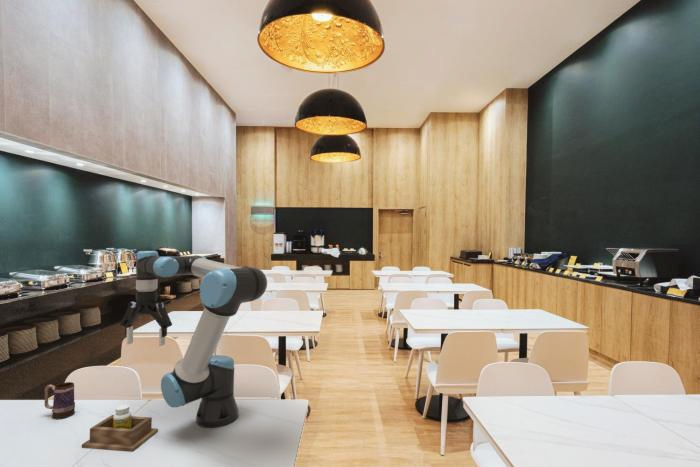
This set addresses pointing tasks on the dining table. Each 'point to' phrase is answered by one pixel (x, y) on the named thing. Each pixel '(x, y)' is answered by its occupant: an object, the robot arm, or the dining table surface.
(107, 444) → the walnut caddy
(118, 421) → the supplement bottle
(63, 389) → the mug
